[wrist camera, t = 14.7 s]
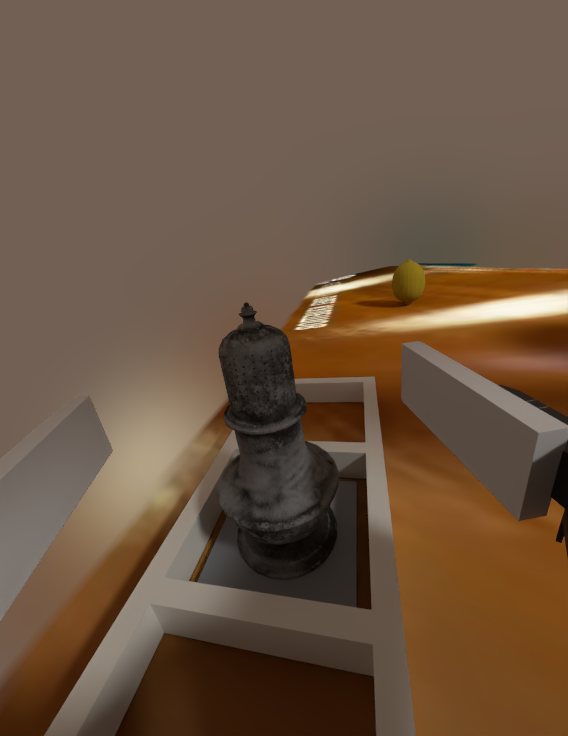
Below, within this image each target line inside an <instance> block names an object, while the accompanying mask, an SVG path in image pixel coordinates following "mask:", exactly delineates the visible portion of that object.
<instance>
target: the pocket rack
mask: <svg viewBox="0 0 568 736" xmlns="http://www.w3.org/2000/svg"><path fill="white" fill-rule="evenodd" d="M294 380H295V387H296V393H299V394H300V395H301V396H302V397H304V398H305V401H306V402H364V417H365V442H326V441H307V442H310V443H313V444H316V445H317V446H319V447H320V448H322V449H324V450H325V451H327V452H328V454H329V455H330V456H331V457H332V458H333V459H334V461H335V463H336V466H337V468H338V471H339V477H342V478H361V479H367V498H368V525H369V553H370V580H371V607H372V610H369V609H362V608H357V482H353V481H339V486H338V489H337V491H336V494H335V497H334V499H333V500H332V502H331V505H330V507H331V509H332V510H333V512H334V515H335V518H336V521H337V539H336V542H335V545H334V549H333V550H332V552H331V553H330V555H329V556H328V558H327V559H326V561H324V562H323V563H322V564H321V565H320V566H319V567H318V568H317V569H315V570H314V571H312V572H310V573H308V574H306V575H304V576H302V577H297V578H292V579H287V580H284V579H271V578H269V577H266V576H263V575H261V574H258V573H257V572H256V571H254V570H253V569H252V568H250V567H249V566H248V565H247V564H246V562H245V560H244V559H243V557H242V556H241V554H240V550H239V546H238V543H237V535H238V528H239V527H238V526H237V525H236V523H235V522H234V521H232V520H231V519H229V518H228V517H226V519H225V522H224V524H223V526H222V528H221V530H220V533H219V535H218V537H217V539H216V541H215V544H214V546H213V548H212V550H211V552H210V555H209V557H208V559H207V561H206V563H205V566H204V568H203V570H202V572H201V575H200V577H199V579H198V581H197V582H190V581H189V580H190V578H191V576H192V573H193V571H194V569H195V567H196V565H197V563H198V561H199V559H200V557H201V555H202V552H203V550H204V548H205V546H206V544H207V542H208V540H209V538H210V536H211V534H212V532H213V529H214V527H215V525H216V523H217V521H218V519H219V517H220V515H221V513H222V511H223V510H222V509H221V507H220V504H219V500H218V496H217V489H218V481H219V479H220V477H221V475H222V473H223V471H224V469H225V468H226V467H227V466H228V464H229V463H230V462H231V461H232V460H233V459H234V458H235V457H236V456H238V455H239V454H240V452H239V448H238V444H237V440H236V435H235V431H234V430H232V432H231V433H230V435H229V437H228V438H227V440H226V442H225V443H224V445H223V446H222V448H221V450H220V451H219V453H218V455H217V456H216V458H215V459H214V461H213V463H212V464H211V466H210V467H209V469H208V471H207V472H206V474H205V476H204V477H203V479H202V480H201V482H200V484H199V485H198V487H197V489H196V490H195V492H194V493H193V495H192V497H191V498H190V500H189V502H188V503H187V505H186V506H185V508H184V510H183V511H182V513H181V514H180V516H179V518H178V519H177V521H176V523H175V524H174V526H173V527H172V529H171V531H170V532H169V534H168V536H167V537H166V539H165V540H164V542H163V544H162V545H161V547H160V549H159V550H158V552H157V553H156V555H155V557H154V558H153V560H152V561H151V563H150V565H149V566H148V568H147V570H146V571H145V573H144V574H143V576H142V578H141V579H140V581H139V583H138V584H137V586H136V587H135V589H134V591H133V592H132V594H131V596H130V597H129V599H128V600H127V602H126V604H125V605H124V607H123V608H122V610H121V612H120V613H119V615H118V617H117V618H116V620H115V621H114V623H113V625H112V626H111V628H110V630H109V631H108V633H107V634H106V636H105V638H104V639H103V641H102V642H101V644H100V646H99V647H98V649H97V651H96V652H95V654H94V655H93V657H92V659H91V660H90V662H89V664H88V665H87V667H86V668H85V670H84V672H83V673H82V675H81V677H80V678H79V680H78V681H77V683H76V685H75V686H74V688H73V689H72V691H71V693H70V694H69V696H68V698H67V699H66V701H65V702H64V704H63V706H62V707H61V709H60V711H59V712H58V714H57V715H56V717H55V719H54V720H53V722H52V724H51V725H50V727H49V728H48V730H47V732H46V733H45V735H44V736H115V735H116V733H117V731H118V728H119V726H120V724H121V722H122V720H123V718H124V716H125V714H126V712H127V710H128V707H129V705H130V703H131V701H132V699H133V697H134V695H135V693H136V691H137V689H138V687H139V684H140V682H141V680H142V678H143V676H144V674H145V672H146V670H147V668H148V666H149V663H150V661H151V659H152V657H153V655H154V653H155V651H156V649H157V647H158V645H159V643H160V640H161V638H162V636H163V634H164V633H168V634H172V635H177V636H182V637H187V638H192V639H196V640H201V641H206V642H211V643H215V644H220V645H225V646H230V647H235V648H239V649H244V650H249V651H254V652H259V653H263V654H268V655H273V656H278V657H282V658H287V659H292V660H297V661H302V662H306V663H311V664H316V665H321V666H325V667H330V668H335V669H340V670H345V671H349V672H354V673H359V674H364V675H368V676H373V677H374V689H375V716H376V736H416V733H415V725H414V716H413V707H412V698H411V690H410V681H409V672H408V664H407V655H406V646H405V637H404V629H403V620H402V611H401V602H400V594H399V585H398V576H397V568H396V559H395V550H394V541H393V533H392V524H391V515H390V506H389V498H388V489H387V480H386V472H385V463H384V454H383V445H382V437H381V428H380V419H379V411H378V402H377V393H376V384H375V377H346V378H310V379H294Z"/></svg>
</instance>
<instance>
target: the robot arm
mask: <svg viewBox="0 0 568 736" xmlns="http://www.w3.org/2000/svg"><path fill="white" fill-rule="evenodd" d="M401 401H402V402H403V403H404V404H405V405H406V406H407V407H408V408H409V409H410V410H411V411H412V412H413V413H414V414H415V415H416V416H417V417H418V418H419V419H420V420H421V421H422V422H423V423H424V424H425V425H426V426H427V427H428V428H429V429H430V430H431V431H432V432H433V433H434V434H435V436H436V437H437V438H438V439H439V440H440V441H441V442H442V443H443V444H444V445H445V446H446V447H447V448H448V449H449V450H450V451H451V452H452V453H453V454H454V455H455V456H456V457H457V458H458V459H459V460H460V461H461V462H462V463H463V464H464V465H465V466H466V467H467V468H468V469H469V471H470V472H471V473H472V474H473V475H474V476H475V477H476V478H477V479H478V480H479V481H480V482H481V483H482V484H483V485H484V486H485V487H486V488H487V489H488V490H489V491H490V492H491V493H492V494H493V495H494V496H495V497H496V498H497V499H498V500H499V501H500V502H501V503H502V504H503V506H504V507H505V508H506V509H507V510H508V511H509V512H510V513H511V514H512V515H513V516H514V517H515V518H516V519H517V520H518V521H522V520H527V519H532V518H537V517H542V516H547V512H548V508H549V505H550V501H551V498H553V499H554V500H555V501H557V502H558V503H559V504H560V505H561V506H563V507H564V508H565V510H564V514H563V517H562V520H561V523H560V527H559V530H558V533H557V537H556V541H557V542H560V543H562V539H563V537H564V536H565V543H566V549H567V556H568V417H566V416H565V415H563V414H561V413H559V412H557V411H555V410H553V409H552V408H550V407H548V408H547V407H546V405H544V404H542V403H541V402H539V401H537V400H536V401H534V399H533V398H531V397H530V396H528V395H526V394H524V393H522V392H520V391H518V390H515V389H512V388H509V387H506V386H502V385H496V384H494V383H493V382H491V381H489V380H487V379H486V378H484V377H482V376H480V375H479V374H477V373H475V372H473V371H472V370H470V369H468V368H466V367H465V366H463V365H461V364H459V363H458V362H456V361H454V360H452V359H451V358H449V357H447V356H445V355H444V354H442V353H440V352H438V351H437V350H435V349H433V348H431V347H430V346H428V345H426V344H424V343H422V342H421V341H415V342H409V343H403V344H402V380H401ZM112 451H113V450H112V447H111V445H110V443H109V440H108V438H107V436H106V434H105V431H104V429H103V427H102V424H101V422H100V420H99V417H98V415H97V413H96V411H95V408H94V406H93V404H92V401H91V399H90V397H89V396H83V397H77V398H71V399H69V400H68V401H67V402H65V403H64V404H63V405H62V406H61V407H60V408H58V409H57V410H56V411H55V412H54V413H53V414H52V415H50V416H49V417H48V418H47V419H46V420H45V421H43V422H42V423H41V424H40V425H39V426H38V427H37V428H35V429H34V430H33V431H32V432H31V433H30V434H29V435H27V436H26V437H25V438H24V439H23V440H21V441H20V442H19V443H18V444H17V445H16V446H15V447H13V448H12V449H11V450H10V451H9V452H8V453H6V454H5V455H4V456H3V457H2V458H1V459H0V621H1V619H2V618H3V616H4V615H5V613H6V612H7V610H8V609H9V607H10V606H11V604H12V603H13V601H14V600H15V598H16V597H17V595H18V594H19V592H20V591H21V589H22V588H23V586H24V584H25V583H26V581H27V580H28V578H29V577H30V575H31V574H32V572H33V571H34V569H35V568H36V566H37V565H38V563H39V562H40V560H41V559H42V557H43V556H44V554H45V553H46V551H47V550H48V548H49V547H50V545H51V544H52V542H53V540H54V539H55V538H56V536H57V534H58V533H59V531H60V530H61V528H62V527H63V525H64V524H65V522H66V521H67V519H68V518H69V516H70V515H71V513H72V512H73V510H74V509H75V507H76V506H77V504H78V503H79V501H80V500H81V498H82V496H83V495H84V494H85V492H86V490H87V489H88V487H89V486H90V484H91V483H92V481H93V480H94V478H95V477H96V475H97V474H98V472H99V471H100V469H101V468H102V466H103V465H104V463H105V462H106V460H107V458H108V457H109V456H110V454H111V453H112Z"/></svg>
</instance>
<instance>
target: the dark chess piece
mask: <svg viewBox="0 0 568 736" xmlns="http://www.w3.org/2000/svg"><path fill="white" fill-rule="evenodd" d="M241 312H242V313H240V314H239V315H240V316H241V317H242V318H243V324H241V325H239V326H238V328H237V329H236V330H233V331H232V332H230V333H229V334H228V335H227V336H226V337H225V338H224V339H223V340H222V342H221V345H220V347H219V359H220V363H221V368H222V372H223V376H224V381H225V385H226V389H227V393H228V398H229V402H230V405H229V406H228V407H227V409H226V410H225V412H224V420H225V423H226V425H227V426H228V427H230V428H231V429H232V430H234V431H235V435H236V440H237V444H238V448H239V452H240V454H239V455H238V456H236V457H235V458H234V459H233V460H232V461H231V462H230V463H229V464H228V466H227V467H226V468H225V469H224V471H223V473H222V475H221V477H220V479H219V481H218V489H217V496H218V500H219V504H220V507H221V509H222V510H223V511H224V513H225V514H226V516H227V517H228V518H229V519H231V520H232V521H234V522H235V523H236V525H237V526H238V527H239V528H238V535H237V543H238V546H239V550H240V554H241V556H242V557H243V559H244V560H245V562H246V564H247V565H248V566H249V567H250V568H252V569H253V570H254V571H256V572H257V573H258V574H261V575H263V576H266V577H269V578H271V579H284V580H287V579H292V578H297V577H302V576H304V575H306V574H308V573H310V572H312V571H314V570H315V569H317V568H318V567H319V566H320V565H321V564H322V563H323V562H324V561H326V559H327V558H328V556H329V555H330V553H331V552H332V550H333V549H334V545H335V542H336V539H337V521H336V518H335V515H334V512H333V510H332V509H331V507H330V505H331V502H332V500H333V499H334V497H335V494H336V491H337V489H338V486H339V471H338V468H337V466H336V463H335V461H334V459H333V458H332V457H331V456H330V455H329V454H328V452H327V451H325V450H324V449H322V448H320V447H319V446H317V445H316V444H313V443H310V442H307V441H304V434H303V427H302V419H301V418H302V417H303V415H304V414H305V412H306V408H307V403H306V401H305V398H304V397H302V396H301V395H300V394H299V393H296V387H295V380H294V372H293V365H292V357H291V350H290V344H289V341H288V339H287V336H286V335H285V334H284V333H283V332H282V331H281V330H279V329H277V328H275V327H273V326H270V325H264V324H262V323H261V322H258V321H255V318H254V315H255V314H256V313H257V312H256V311H253V308H252V306H249V304H248V303H244V307H242V309H241Z"/></svg>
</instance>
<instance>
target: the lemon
mask: <svg viewBox="0 0 568 736" xmlns="http://www.w3.org/2000/svg"><path fill="white" fill-rule="evenodd" d="M424 287H425V274H424V271H423V269H422V267H421V266H420V265H419V264H417V263H415V262H412V260H407V261H406V262H405V263H403V264H401V265H400V266H399V267H398V268H397V269H396V271H395V273H394V275H393V280H392V289H393V293H394V295H395V297H396V298H397V299H398V300H400V301H403V302H404V303H405V304H406V305H410V304H411V302H412V301H414V300H416V299H418V298H419V297H420V296H421V294H422V293H423V291H424Z"/></svg>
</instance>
